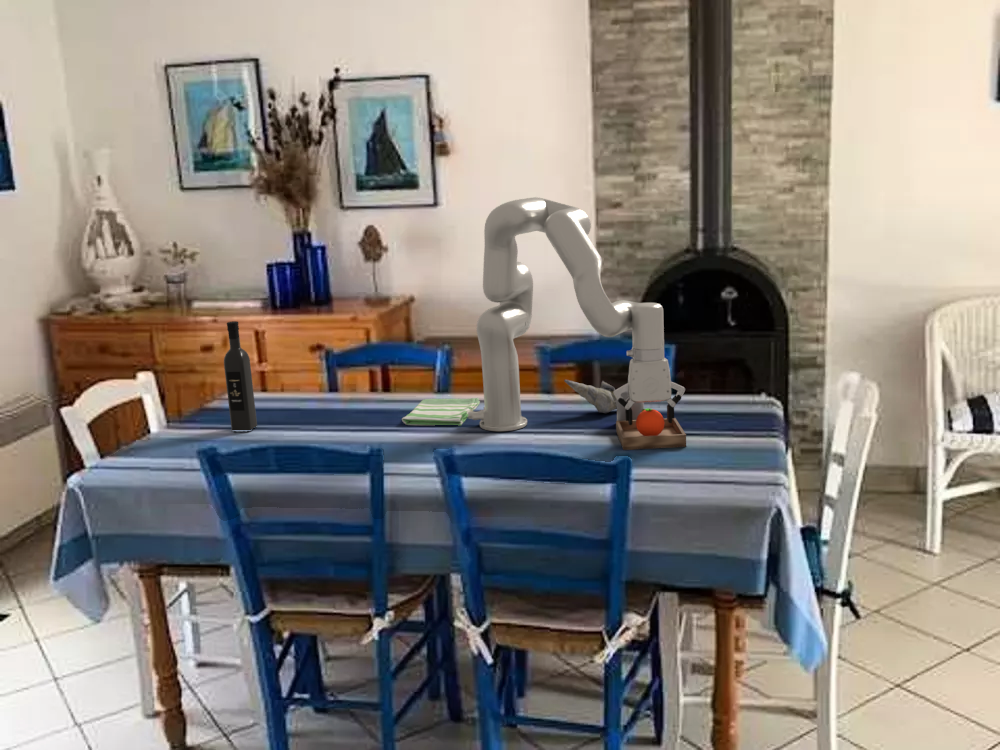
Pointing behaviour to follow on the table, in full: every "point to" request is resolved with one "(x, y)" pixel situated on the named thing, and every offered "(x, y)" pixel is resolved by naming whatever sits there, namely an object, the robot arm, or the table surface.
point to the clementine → (650, 422)
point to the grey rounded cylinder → (636, 408)
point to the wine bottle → (239, 383)
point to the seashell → (596, 395)
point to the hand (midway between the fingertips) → (649, 422)
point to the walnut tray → (635, 440)
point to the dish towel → (441, 412)
